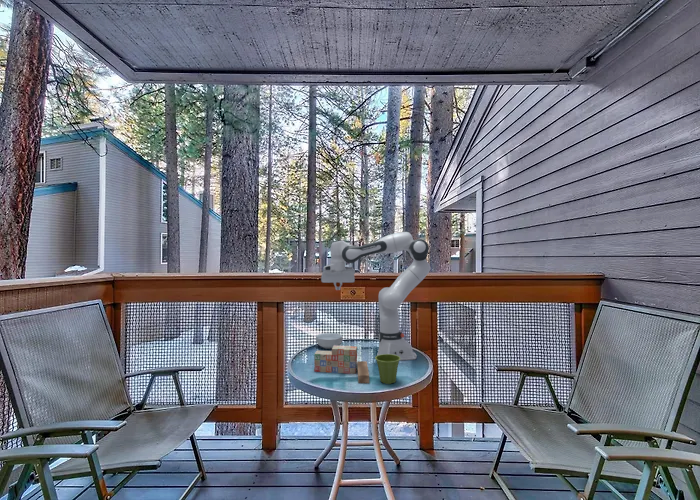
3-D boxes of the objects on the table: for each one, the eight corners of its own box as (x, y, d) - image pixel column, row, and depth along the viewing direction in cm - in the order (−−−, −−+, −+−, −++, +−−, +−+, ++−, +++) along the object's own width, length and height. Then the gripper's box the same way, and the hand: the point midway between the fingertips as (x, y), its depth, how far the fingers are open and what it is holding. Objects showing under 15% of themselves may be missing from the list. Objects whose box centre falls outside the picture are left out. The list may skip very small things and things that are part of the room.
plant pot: (396, 376, 175) (396, 353, 174) (403, 385, 163) (403, 361, 163) (372, 377, 173) (372, 354, 173) (378, 387, 161) (378, 362, 161)
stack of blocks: (314, 372, 181) (313, 348, 180) (316, 367, 187) (316, 344, 187) (355, 374, 178) (355, 349, 177) (357, 369, 184) (357, 346, 184)
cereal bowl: (344, 350, 217) (344, 338, 217) (317, 351, 214) (317, 340, 214) (339, 342, 234) (339, 331, 234) (314, 344, 231) (314, 333, 230)
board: (366, 368, 186) (366, 361, 186) (369, 383, 166) (369, 375, 166) (357, 368, 186) (357, 361, 185) (358, 384, 166) (358, 375, 166)
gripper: (355, 266, 218) (355, 289, 218) (321, 266, 218) (321, 289, 218) (355, 267, 212) (355, 290, 212) (320, 267, 212) (321, 290, 212)
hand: (338, 289), depth 215 cm, fingers closed
